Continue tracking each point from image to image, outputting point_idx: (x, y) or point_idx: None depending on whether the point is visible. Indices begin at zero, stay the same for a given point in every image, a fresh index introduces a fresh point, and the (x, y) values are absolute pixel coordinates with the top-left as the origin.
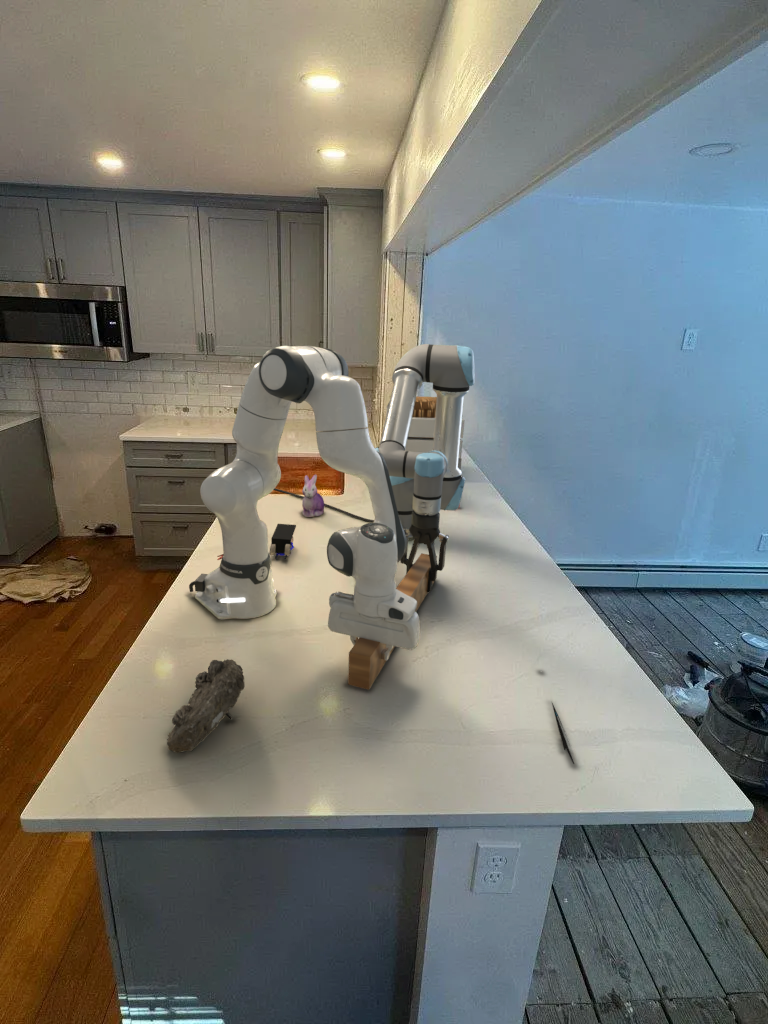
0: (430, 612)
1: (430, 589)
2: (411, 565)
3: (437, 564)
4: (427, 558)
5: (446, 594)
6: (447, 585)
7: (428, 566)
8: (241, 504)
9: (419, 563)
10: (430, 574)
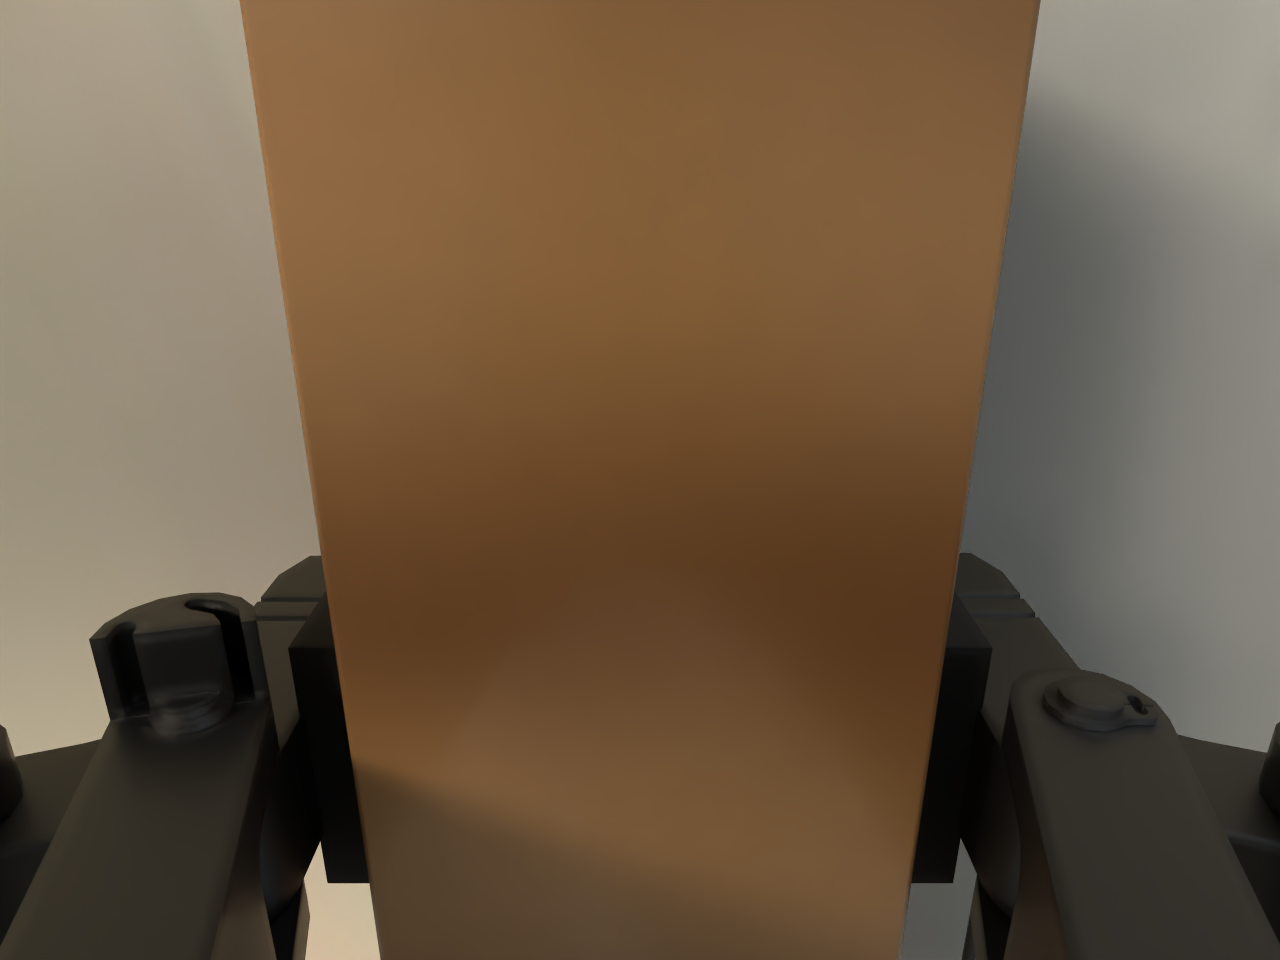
0: (919, 957)
1: None
2: (309, 781)
3: (1187, 767)
4: (679, 267)
5: (1096, 440)
6: (1097, 69)
7: (865, 871)
8: None
9: (526, 792)
10: None
